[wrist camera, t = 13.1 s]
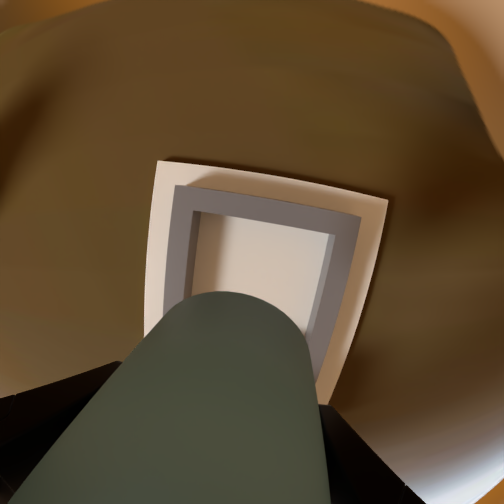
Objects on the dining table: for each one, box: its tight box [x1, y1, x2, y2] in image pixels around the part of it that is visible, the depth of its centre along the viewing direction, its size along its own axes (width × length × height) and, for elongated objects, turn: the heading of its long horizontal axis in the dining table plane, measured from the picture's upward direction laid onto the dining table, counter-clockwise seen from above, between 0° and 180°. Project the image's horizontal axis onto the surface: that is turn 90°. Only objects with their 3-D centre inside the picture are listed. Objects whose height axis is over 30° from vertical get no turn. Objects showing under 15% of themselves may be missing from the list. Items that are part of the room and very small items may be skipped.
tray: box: [144, 161, 388, 405], centre depth 18 cm, size 23×14×2 cm, turn 171°
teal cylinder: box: [8, 291, 331, 504], centre depth 5 cm, size 5×5×7 cm
